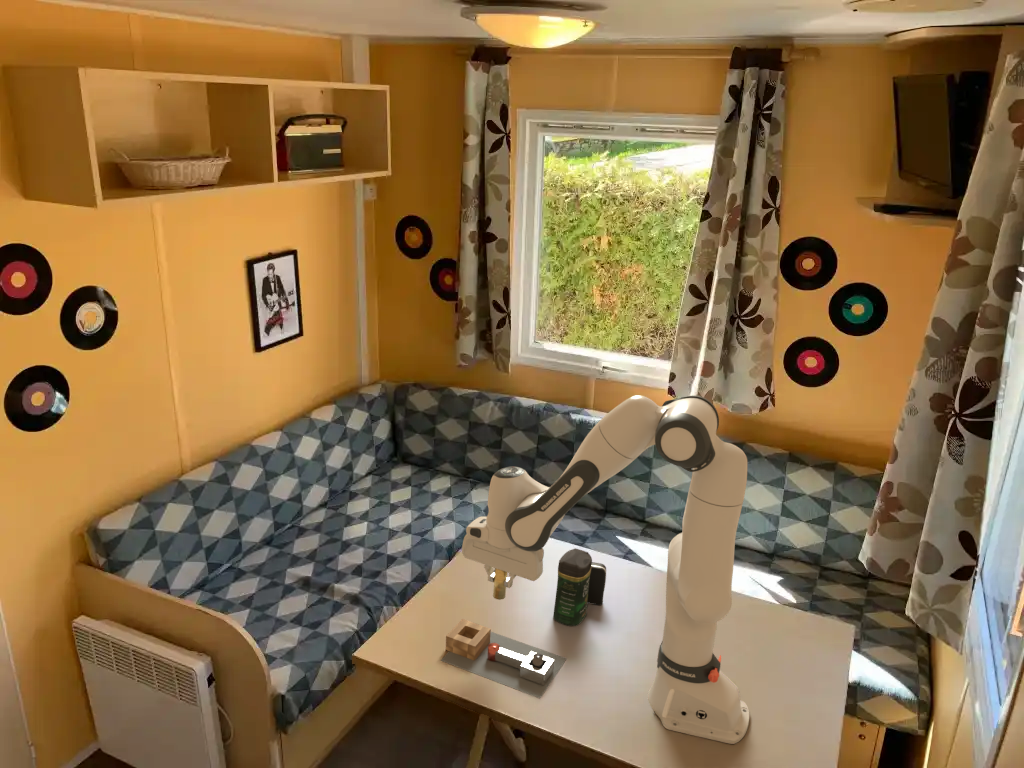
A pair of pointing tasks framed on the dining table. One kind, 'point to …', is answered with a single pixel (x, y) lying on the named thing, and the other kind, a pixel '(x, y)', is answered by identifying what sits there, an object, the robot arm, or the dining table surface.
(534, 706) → the dining table surface
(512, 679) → the mat
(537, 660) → the post
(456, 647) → the slot block
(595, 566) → the battery charger
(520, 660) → the knob socket block
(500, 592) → the pin
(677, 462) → the robot arm
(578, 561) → the coffee jar
